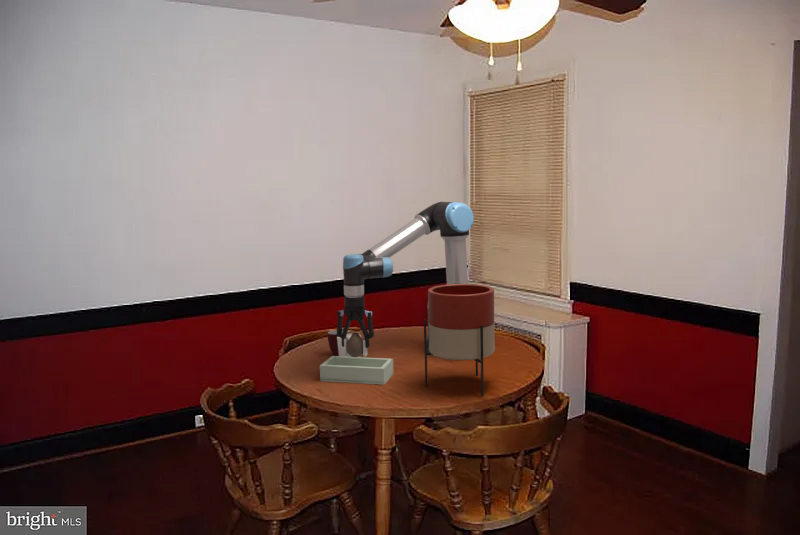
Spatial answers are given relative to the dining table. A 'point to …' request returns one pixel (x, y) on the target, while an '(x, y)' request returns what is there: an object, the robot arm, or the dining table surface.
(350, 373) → the green rectangular tray
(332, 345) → the mug
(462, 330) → the planter
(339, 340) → the candle holder
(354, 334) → the vase
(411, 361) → the dining table surface
